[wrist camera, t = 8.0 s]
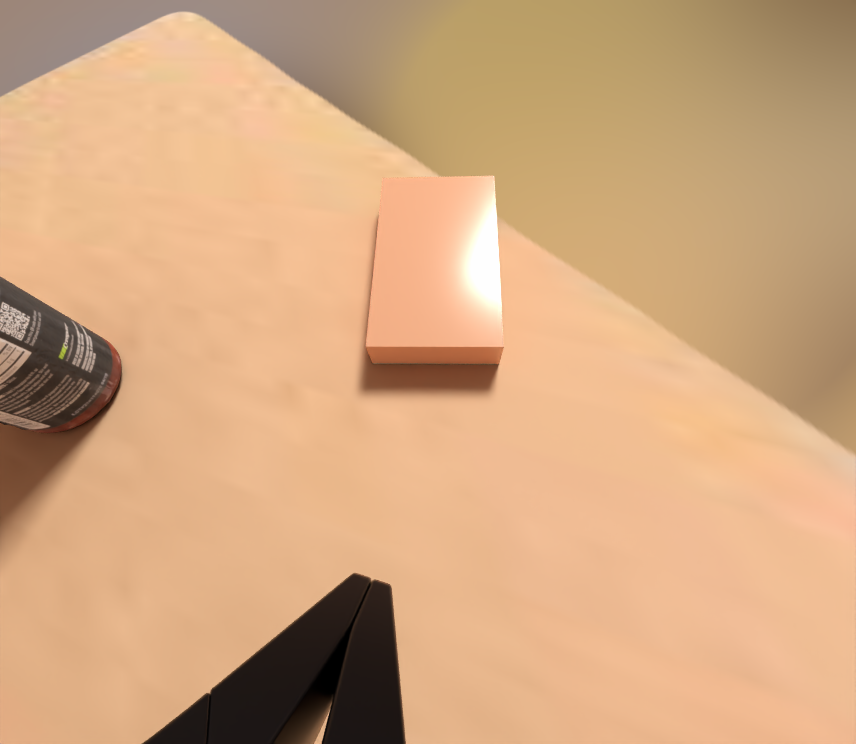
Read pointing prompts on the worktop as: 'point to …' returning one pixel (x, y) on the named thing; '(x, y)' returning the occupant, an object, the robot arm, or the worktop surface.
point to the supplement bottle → (50, 366)
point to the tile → (436, 273)
